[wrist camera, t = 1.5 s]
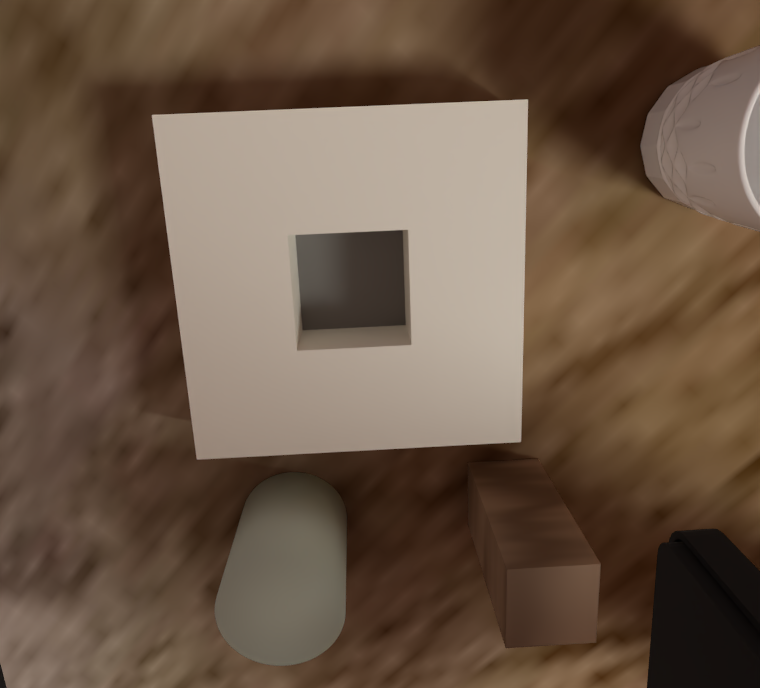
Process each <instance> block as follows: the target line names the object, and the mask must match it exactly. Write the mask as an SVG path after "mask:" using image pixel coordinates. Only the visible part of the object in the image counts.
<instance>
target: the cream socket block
mask: <svg viewBox="0 0 760 688" xmlns="http://www.w3.org/2000/svg"><path fill="white" fill-rule="evenodd" d="M152 121H153V129H154V136H155V144H156V152H157V159H158V167H159V175H160V182H161V190H162V197H163V205H164V213H165V220H166V228H167V236H168V243H169V251H170V259H171V266H172V274H173V282H174V289H175V297H176V305H177V312H178V320H179V328H180V335H181V343H182V350H183V358H184V366H185V373H186V381H187V389H188V396H189V404H190V412H191V419H192V427H193V435H194V442H195V450H196V458H197V460H200V459H219V458H237V457H255V456H274V455H292V454H310V453H329V452H347V451H366V450H384V449H402V448H421V447H439V446H457V445H476V444H494V443H512V442H521V424H522V375H523V326H524V276H525V227H526V178H527V128H528V99H525V100H501V101H477V102H452V103H428V104H404V105H380V106H356V107H332V108H308V109H283V110H259V111H235V112H211V113H187V114H163V115H152Z"/></svg>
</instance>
